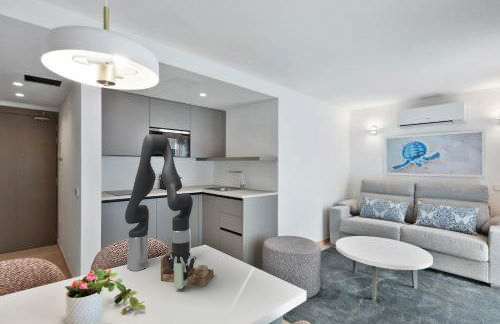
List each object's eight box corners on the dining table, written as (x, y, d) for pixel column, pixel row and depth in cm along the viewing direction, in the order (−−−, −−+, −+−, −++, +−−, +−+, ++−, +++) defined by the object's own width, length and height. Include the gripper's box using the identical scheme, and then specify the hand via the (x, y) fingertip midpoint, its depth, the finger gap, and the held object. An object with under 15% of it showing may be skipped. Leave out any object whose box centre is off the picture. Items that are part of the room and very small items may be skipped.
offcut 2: (193, 282, 114) (193, 275, 114) (199, 276, 120) (199, 270, 120) (203, 283, 113) (203, 277, 113) (208, 277, 119) (208, 271, 119)
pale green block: (174, 287, 106) (174, 264, 106) (180, 282, 111) (180, 259, 111) (181, 288, 105) (181, 265, 105) (187, 282, 110) (187, 260, 110)
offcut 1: (194, 275, 114) (194, 269, 114) (198, 271, 119) (198, 264, 119) (204, 276, 114) (204, 269, 114) (207, 271, 119) (207, 265, 119)
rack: (160, 283, 116) (160, 257, 116) (173, 273, 126) (173, 249, 126) (204, 289, 110) (204, 261, 110) (213, 278, 121) (213, 253, 121)
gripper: (161, 241, 106) (161, 281, 106) (191, 243, 103) (191, 285, 103) (171, 236, 113) (171, 273, 114) (199, 238, 110) (199, 277, 110)
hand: (181, 279), depth 108 cm, fingers closed on pale green block, 3 cm apart
